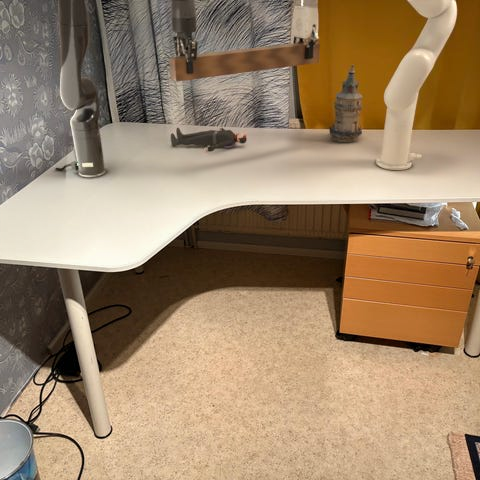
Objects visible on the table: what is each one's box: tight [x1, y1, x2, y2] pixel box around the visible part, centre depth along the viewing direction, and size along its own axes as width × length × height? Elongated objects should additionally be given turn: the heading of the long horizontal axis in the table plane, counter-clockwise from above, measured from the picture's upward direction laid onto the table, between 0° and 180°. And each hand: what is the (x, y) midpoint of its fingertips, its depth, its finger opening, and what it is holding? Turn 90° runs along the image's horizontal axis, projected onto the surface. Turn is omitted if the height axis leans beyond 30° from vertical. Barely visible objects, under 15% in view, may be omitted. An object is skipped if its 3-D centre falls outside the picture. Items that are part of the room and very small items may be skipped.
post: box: [168, 41, 321, 82], centre depth 182 cm, size 56×5×7 cm, turn 119°
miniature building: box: [328, 63, 363, 143], centre depth 214 cm, size 13×14×30 cm
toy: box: [170, 127, 248, 153], centre depth 215 cm, size 26×6×30 cm
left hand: (186, 71), depth 173 cm, fingers closed on post, 4 cm apart
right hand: (304, 56), depth 192 cm, fingers closed on post, 4 cm apart
